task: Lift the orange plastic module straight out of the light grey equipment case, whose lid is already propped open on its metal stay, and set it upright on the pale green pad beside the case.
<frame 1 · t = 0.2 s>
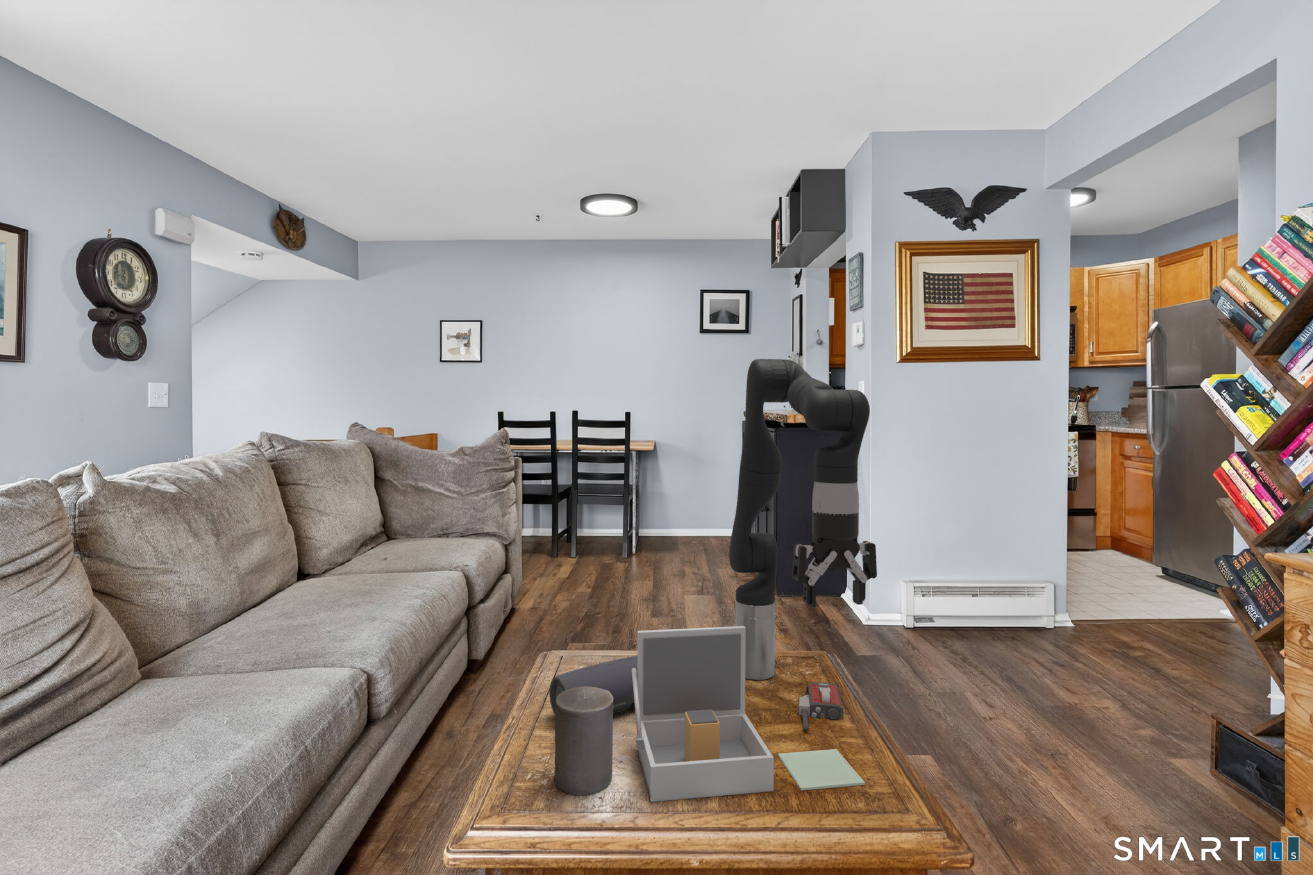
hand: (834, 605, 109), 29 cm above the table, tool pointing down, fingers open, 8 cm apart
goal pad: (819, 769, 111), on the table
module: (701, 763, 111), point 1 cm above the table, touching equipment case
walkie-talkie: (820, 715, 133), on the table
equipment case: (701, 769, 111), on the table
bluetooth speaker: (608, 711, 134), on the table
pillar candle: (584, 780, 108), on the table
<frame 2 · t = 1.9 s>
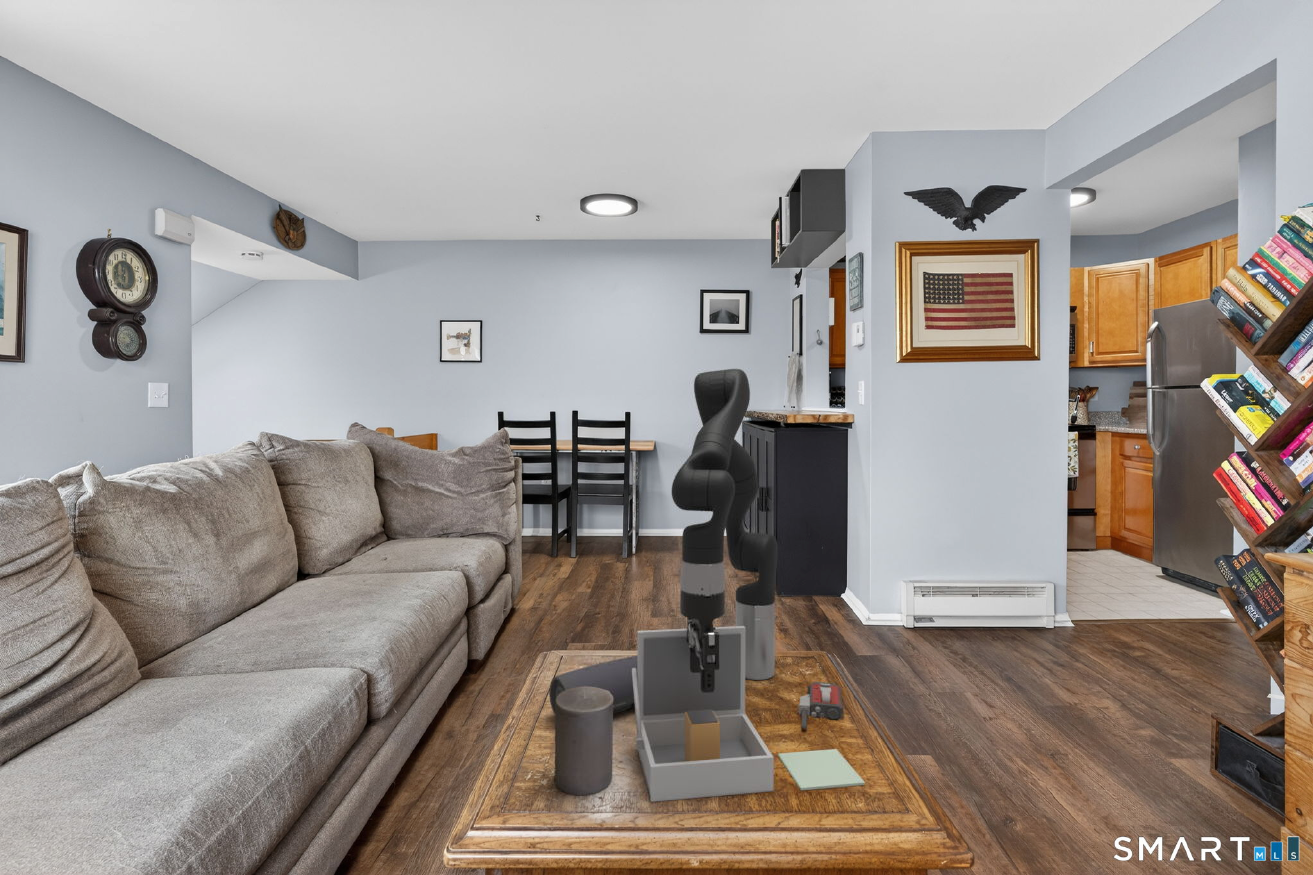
hand: (701, 681, 111), 15 cm above the table, tool pointing down, fingers open, 8 cm apart
nothing on the table moved.
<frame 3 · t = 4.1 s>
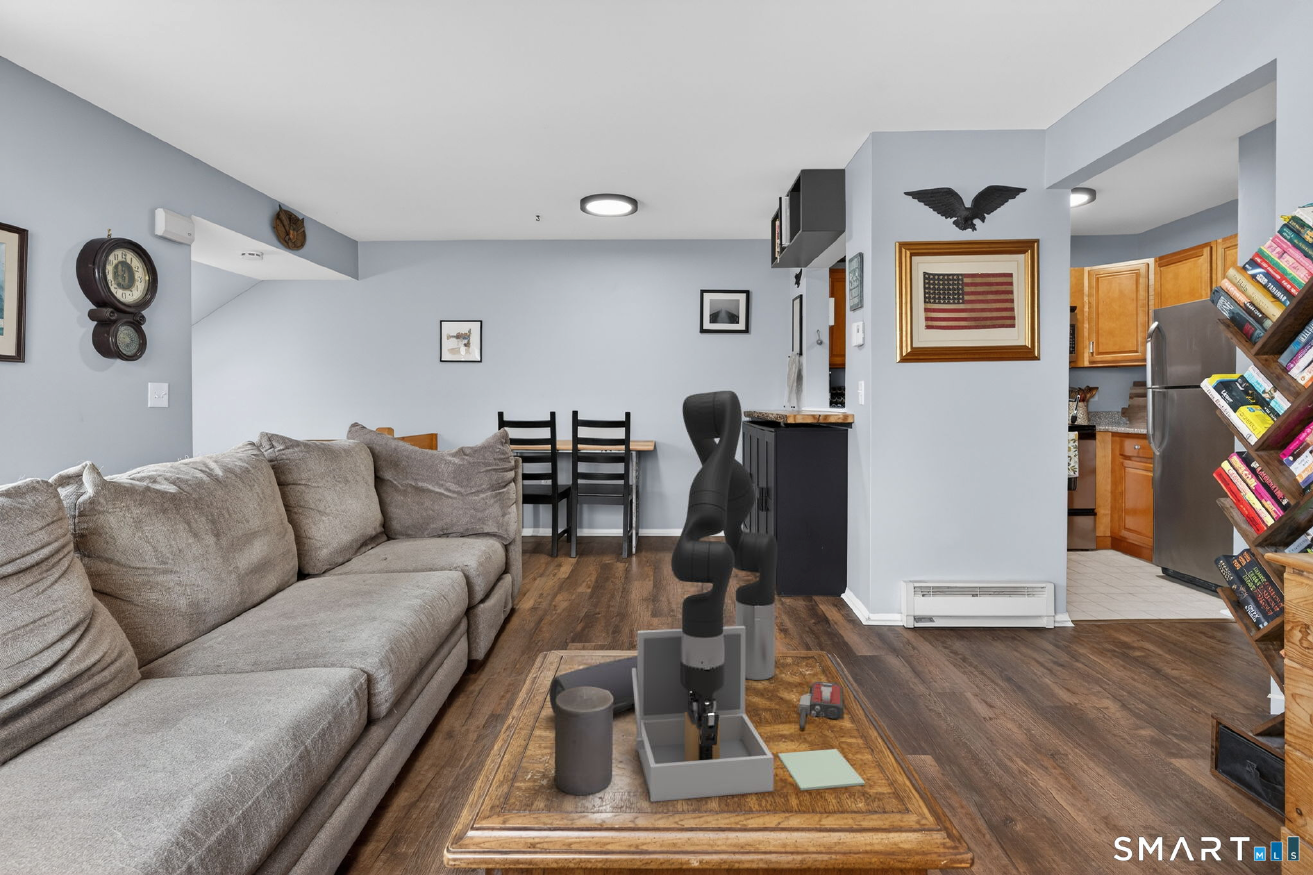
hand: (701, 755, 111), 2 cm above the table, tool pointing down, fingers closed on module, 5 cm apart
module: (701, 763, 111), point 1 cm above the table, touching equipment case, gripper
everything else where it was.
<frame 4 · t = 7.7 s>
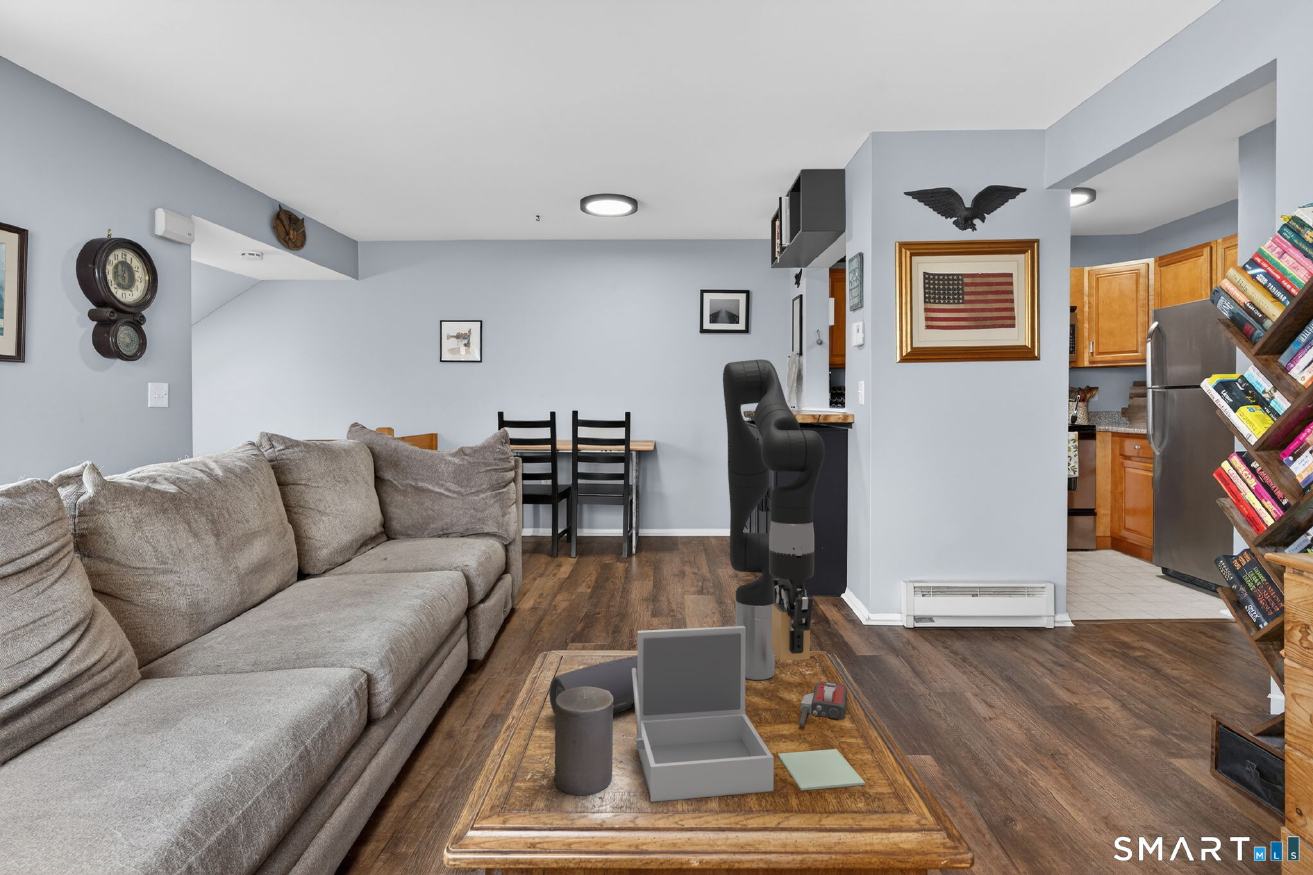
hand: (790, 646, 111), 21 cm above the table, tool pointing down, fingers closed on module, 5 cm apart
module: (790, 654, 111), point 20 cm above the table, touching gripper
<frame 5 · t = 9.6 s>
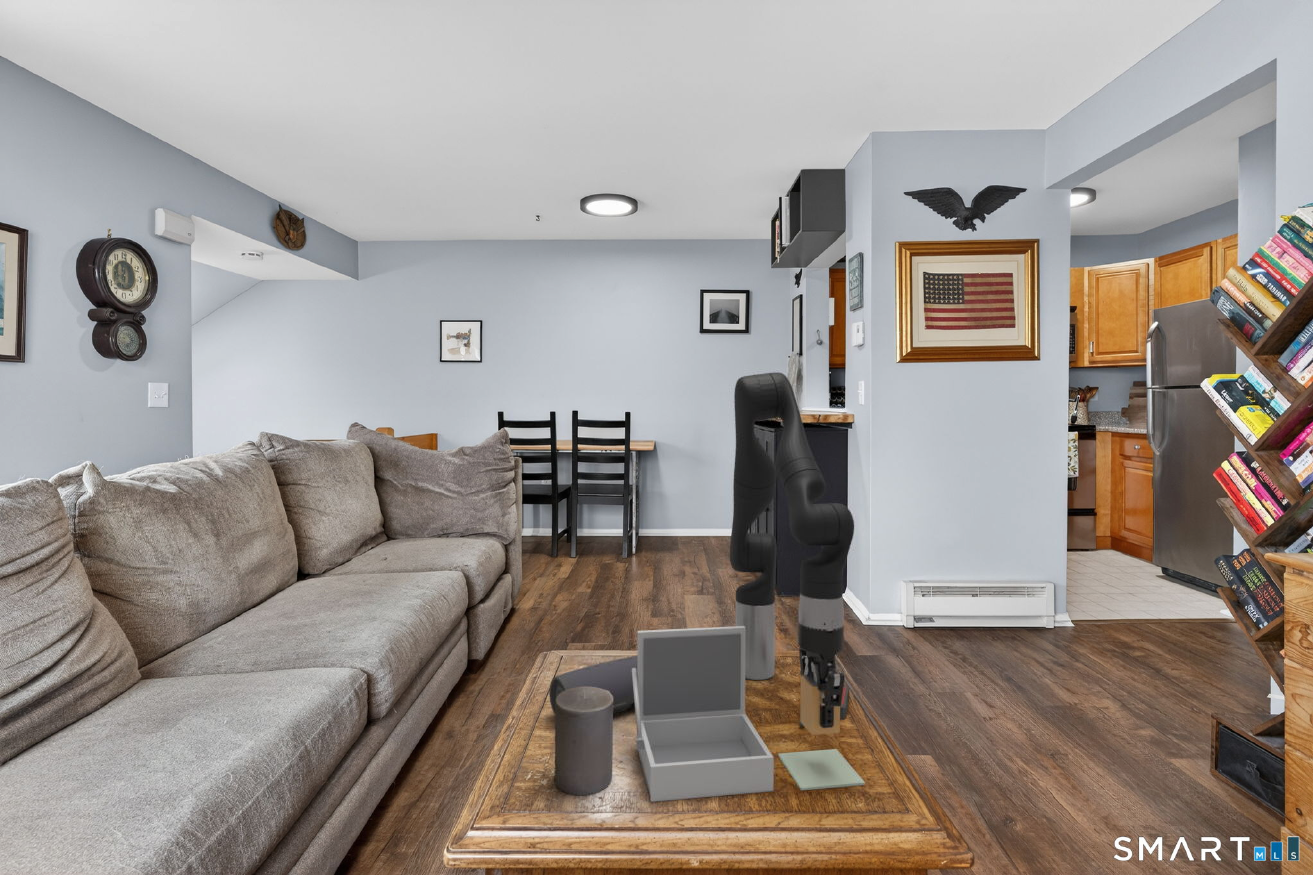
hand: (819, 718, 111), 9 cm above the table, tool pointing down, fingers closed on module, 5 cm apart
module: (819, 726, 111), point 7 cm above the table, touching gripper
when the fingers open (3 cm above the table, at t = 11.3 s): module drops 1 cm, resting on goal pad.
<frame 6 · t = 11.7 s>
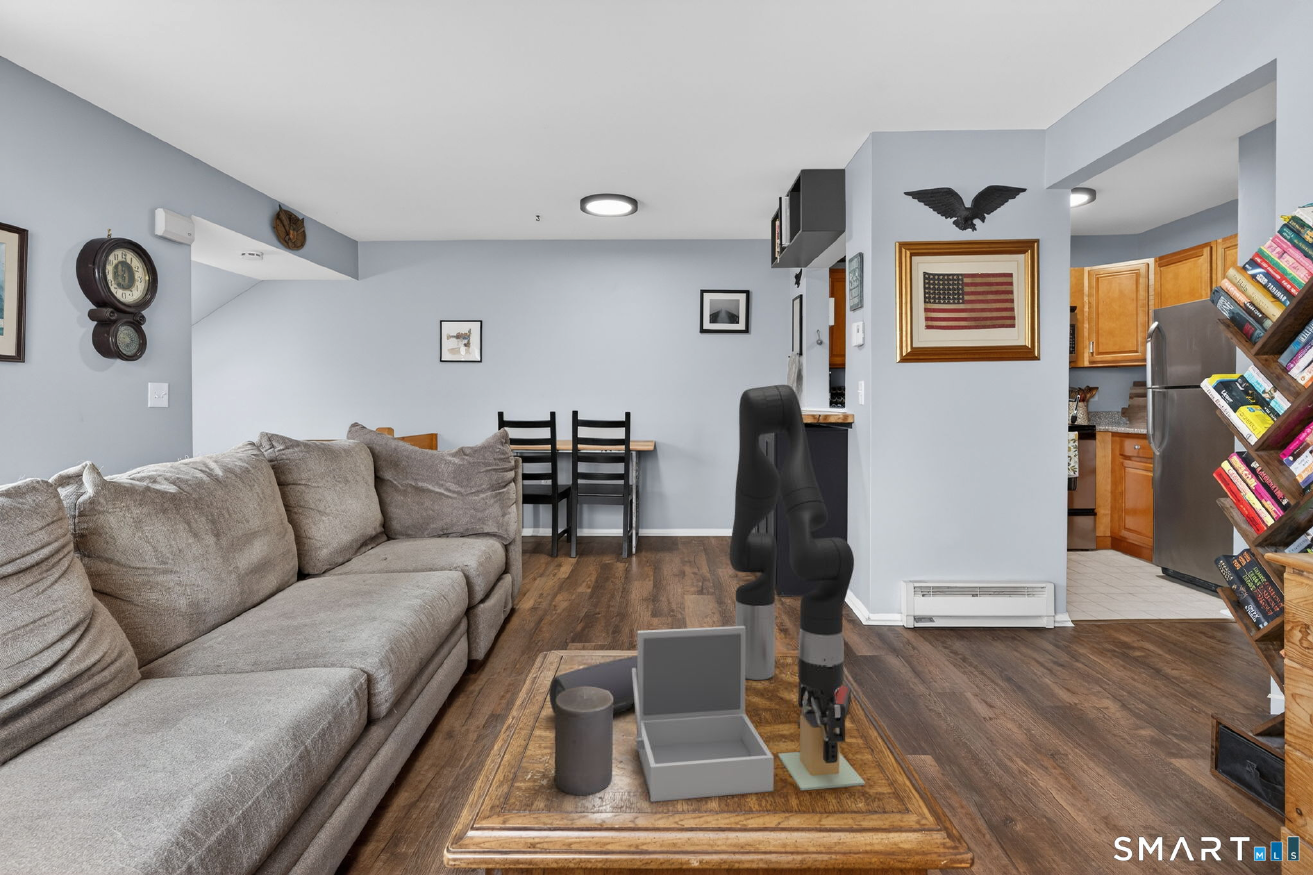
hand: (819, 748, 111), 4 cm above the table, tool pointing down, fingers open, 8 cm apart
module: (819, 766, 111), resting on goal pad
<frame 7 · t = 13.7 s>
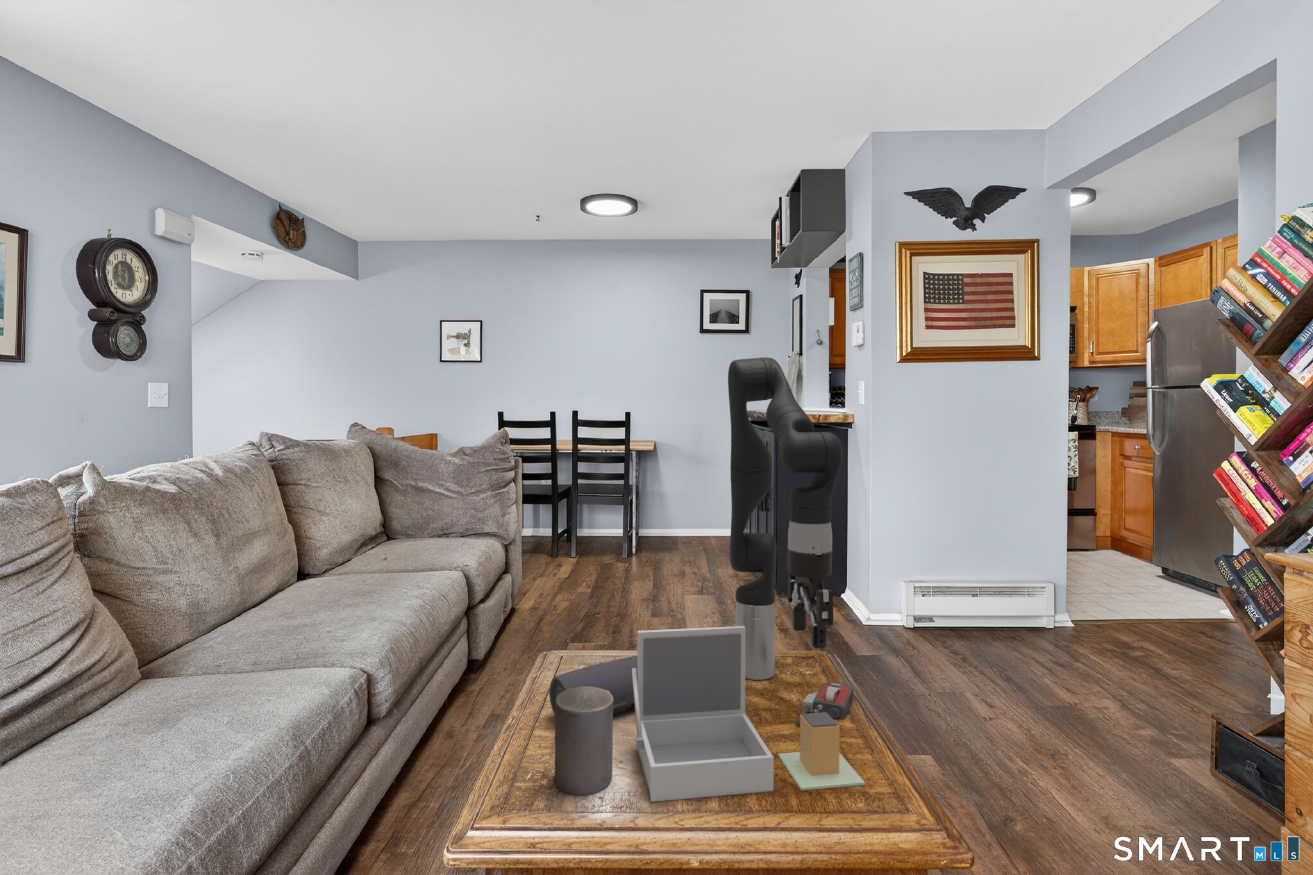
hand: (808, 638, 114), 22 cm above the table, tool pointing down, fingers open, 8 cm apart
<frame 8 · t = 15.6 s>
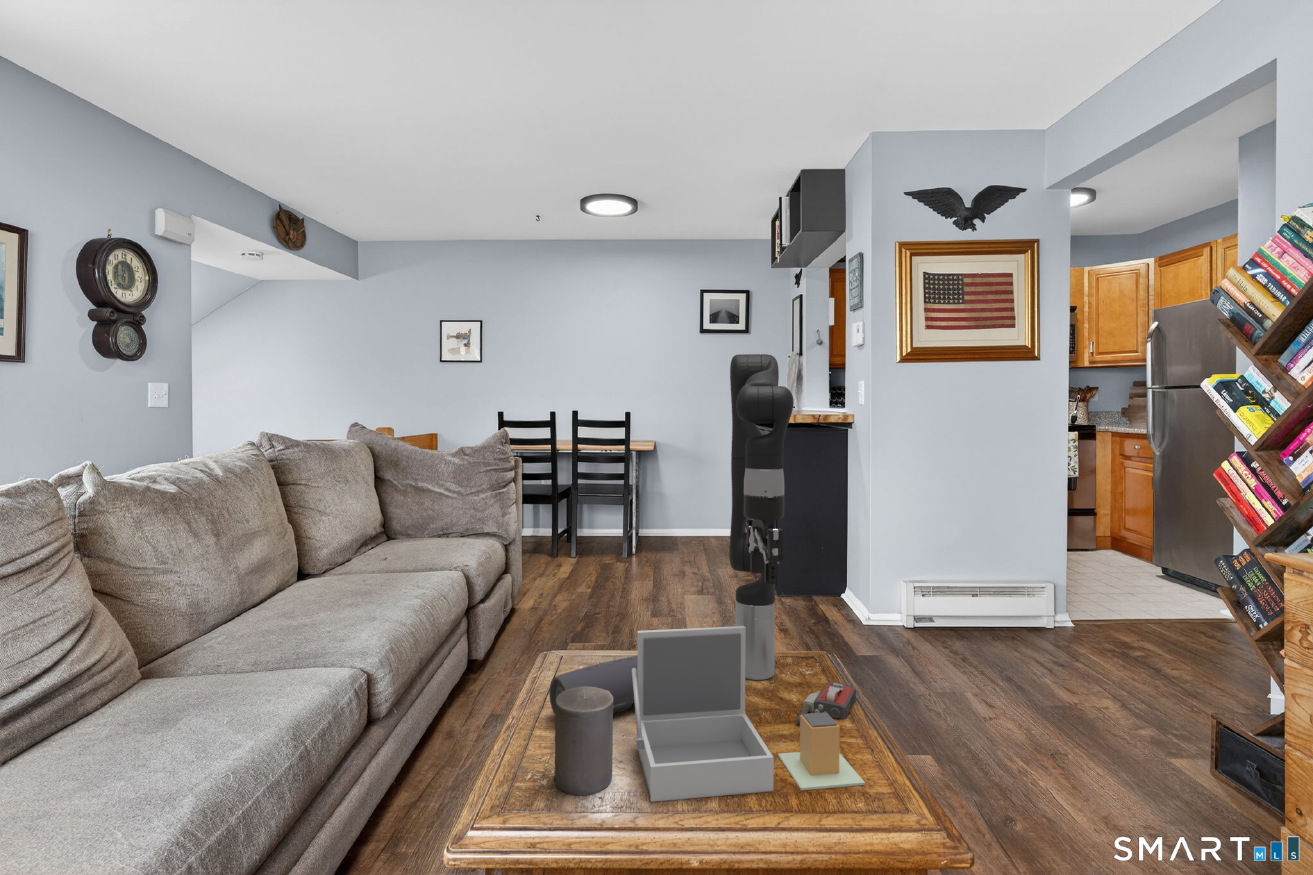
hand: (763, 578, 122), 30 cm above the table, tool pointing down, fingers open, 8 cm apart
at the end: module inside the target area (0.2 cm from its centre), resting on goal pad; module tilted 0°; the gripper is holding nothing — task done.
